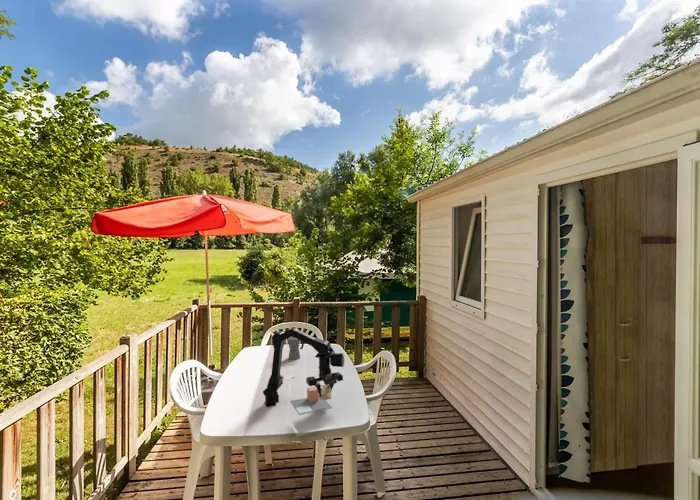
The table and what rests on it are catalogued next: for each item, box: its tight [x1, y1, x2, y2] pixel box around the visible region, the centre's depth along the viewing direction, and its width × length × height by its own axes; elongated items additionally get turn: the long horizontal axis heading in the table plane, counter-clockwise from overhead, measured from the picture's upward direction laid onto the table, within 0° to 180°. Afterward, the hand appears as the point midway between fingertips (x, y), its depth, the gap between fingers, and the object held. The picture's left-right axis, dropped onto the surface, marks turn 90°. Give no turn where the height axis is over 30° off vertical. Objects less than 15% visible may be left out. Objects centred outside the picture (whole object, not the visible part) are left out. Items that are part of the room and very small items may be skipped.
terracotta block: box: [306, 386, 319, 402], centre depth 204 cm, size 5×5×6 cm
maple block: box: [319, 384, 332, 401], centre depth 195 cm, size 5×5×6 cm
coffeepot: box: [286, 337, 305, 360], centre depth 280 cm, size 15×9×18 cm, turn 70°
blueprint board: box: [290, 397, 333, 416], centre depth 198 cm, size 18×18×1 cm
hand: (324, 395), depth 195 cm, fingers closed on maple block, 5 cm apart
